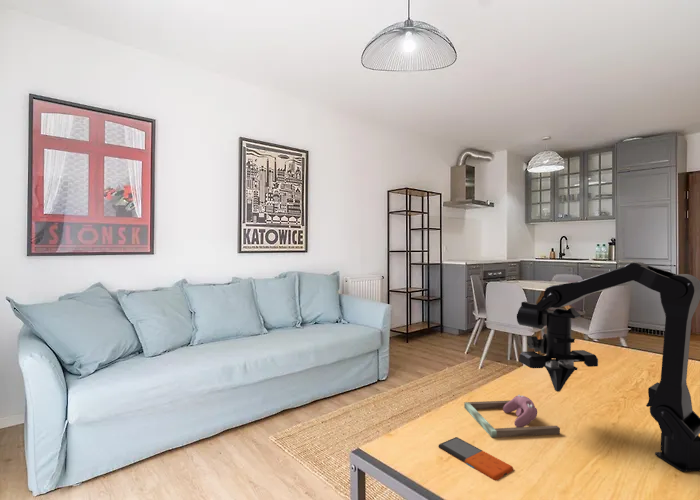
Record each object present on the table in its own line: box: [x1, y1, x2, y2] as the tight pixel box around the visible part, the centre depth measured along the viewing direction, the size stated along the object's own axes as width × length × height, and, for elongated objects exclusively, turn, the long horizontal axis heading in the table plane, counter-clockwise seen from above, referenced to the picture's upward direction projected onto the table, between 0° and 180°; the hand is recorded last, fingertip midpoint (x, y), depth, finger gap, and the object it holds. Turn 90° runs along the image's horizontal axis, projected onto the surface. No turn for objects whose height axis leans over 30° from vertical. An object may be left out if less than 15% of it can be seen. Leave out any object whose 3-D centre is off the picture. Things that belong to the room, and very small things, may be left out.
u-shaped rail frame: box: [463, 399, 561, 438], centre depth 101 cm, size 16×17×2 cm
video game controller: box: [502, 394, 538, 428], centre depth 102 cm, size 10×5×7 cm, turn 177°
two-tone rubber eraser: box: [438, 436, 514, 481], centre depth 84 cm, size 6×1×15 cm
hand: (557, 391), depth 103 cm, fingers closed
